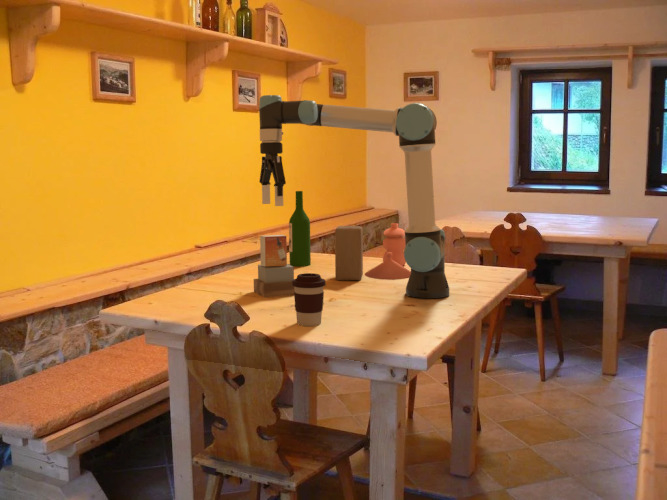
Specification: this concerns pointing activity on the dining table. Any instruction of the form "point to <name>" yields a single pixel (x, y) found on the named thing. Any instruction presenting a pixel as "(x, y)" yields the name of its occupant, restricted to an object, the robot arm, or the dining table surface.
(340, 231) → the block
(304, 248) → the wine bottle
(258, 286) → the tower base
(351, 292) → the dining table surface
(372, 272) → the ceramic vessels
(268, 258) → the small box
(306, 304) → the coffee cup
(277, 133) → the robot arm
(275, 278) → the tower top
